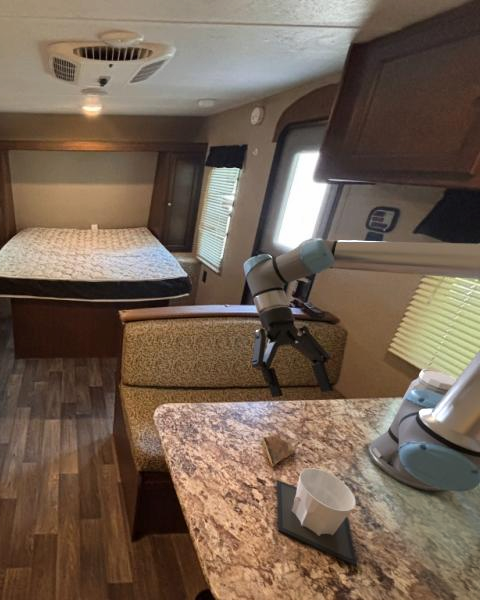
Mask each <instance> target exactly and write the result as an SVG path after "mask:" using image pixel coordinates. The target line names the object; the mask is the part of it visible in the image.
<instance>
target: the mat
mask: <svg viewBox="0 0 480 600" xmlns="http://www.w3.org/2000/svg"><path fill="white" fill-rule="evenodd" d="M276 488H277V489H276V495H277V499H276V501H277V531H278V532H279V533H281V534H283V535H286V536H288V537H290V538H293V539H295V540H297V541H299V542H301V543H303V544H305V545H308V546H309V547H311V548H313V549H316V550H318V551H321V552H322V553H325V554H327V555H328V556H331V557H333V558H336V559H338V560H339V561H341V562H344V563H346V564H349V565H350V566H353V567H355V568H358V561H357V558H356V553H355V548H354V543H353V539H352V535H351V529H350V526H349V522H348V516H347V517H346V518H345V520H344V521H343V522H342V523H341V525H340V526H339V528H338V529H337V530H336V532H335V533H334V534H333V535H331V534H321V535H319V536H318V535H317V534H316V533H315V532H314V531H312V530H310V529H309V528H307V527H305V526H301V522H300V520H299V519H298V517H297V516H296V514H294V513H293V512H292V508H293V505H294V499H295V496H296V491H297V486H293V485H290V484H288V483H286V482H283V481H281V480H279V479H278V480H277V481H276Z"/></svg>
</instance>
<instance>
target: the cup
mask: <svg viewBox="0 0 480 600" xmlns="http://www.w3.org/2000/svg"><path fill="white" fill-rule="evenodd" d="M296 488H297V491H296V496H295V499H294V505H293V508H292V512H293V513H294V514H296V516H297V517H298V519H299V520H300V522H301V526H305V527H307V528H309V529H310V530H312V531H314V532H315V533H316V534H317V535H318V536H319V535H321V534H331V535H333V534H334V533H335V532H336V530H337V529H338V528H339V526H340V525H341V523H342V522H343V521H344V520H345V518H346V517H347V518H348V516H349V515H350V513H352V511H353V510H354V508H355V507H356V505H357V504H356V503H357V502H356V501H357V500H356V498H355V494H354V493H353V492H352V490H351V488H349V486H348V485H346V483H344V481H342V480H341V479H340V478H338V477H337V476H335V475H334V474H333V473H330V472H328V471H326V470H323V469H320V468H316V467H306V468H303V469H302V470H300V474H299V477H298V481H297V486H296Z"/></svg>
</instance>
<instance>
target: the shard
mask: <svg viewBox="0 0 480 600" xmlns="http://www.w3.org/2000/svg"><path fill="white" fill-rule="evenodd" d="M261 438H262V441H263V443H264V446H265V449H266V453H267V458H268V460H269V463H270V465H271V467H275V466H276V465H277V464H278V463H279V462H280V461H282V460H284V459H286V458H287V457H289V456H291V455H292V454H294V453H295V452H296V449H295V448H294V447H293V446H292V445H291V444H290V443H289V442H287V441H286V440H285V439H283V437H280V436H279V435H278V434H276V433H272V434H270V435H268V436H262V437H261Z"/></svg>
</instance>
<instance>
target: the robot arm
mask: <svg viewBox="0 0 480 600" xmlns="http://www.w3.org/2000/svg"><path fill="white" fill-rule="evenodd" d="M328 269H334V270H335V269H337V270H349V271H362V272H364V271H365V272H377V273H388V274H389V273H391V274H402V275H403V274H405V275H416V276H430V277H444V278H458V279H469V280H470V279H472V280H477V281H479V282H480V243H462V242H461V243H458V242H419V241H418V242H417V241H383V240H381V241H376V240H336V239H335V240H333V239H323V238H321V237H313V238H311V237H310V238H308V239H305V240H303V241H302V242H301V243H299V245H297V246H296V247H295V248H293V249H292V250H289V251H287V252H284V253H283V254H281V255H278V256H275V257H273V256H271V255H270V254H267V253H262V254H261V253H260V254H258V255H255V256H252V257H250V258H248V259H246V261H245V262H244V263H243V271H244V275H245V280H246V282H247V286H248V288H249V290H250V293H251V296H252V300H253V302H254V306H255V308H256V312H257V313H258V314H259V315H258V319H259V321H260V324H261V328H258V329H257V330H254V331H253V334H254V346H253V352H252V359H251V367H252V368H255V369H257V370H258V371H261V374H262V376H263V380H264V382H265V383H266V384H267V386H268V388H269V392H270V394H271V395H270V396H271V397H272V398H277V397H283V396H284V394H283V391H282V389H281V384H280V382H279V379H278V376H277V372H276V370H275V367H271V365H272V364H273V361H274V358H275V356H276V353H277V350H278V349H279V347H282V346H283V347H288V346H290V347H292V348H294V349H296V350H297V351H298V352H299V353H300V354H302V356H304V357H305V358H306V359H308V360H309V361H310V362H311V363H312V364H313V365H311V369H312V371H313V374H314V376H315V379H316V381H317V384H318V388H319V390H320V392H321V393H326V392H334V389H333V386H332V383H331V381H330V378H329V377H330V374H329V371H328V369H327V365H326V363H329V361H331V359H332V358H331V356H330V354H329V353H328V352H327V351H326V350H325V349H324V347H323V346H322V345H321V344H320V342H318V341H317V339H316V338H315V337H314V336H313V334H312V333H311V332H310V330H309V328H308V326H307V325H302V326H299V327H296V325H295V321H296V318H295V316H294V313H293V310H292V308H290V302H289V299H288V297H287V294H286V292H285V291H286V290H285V289H284V285H287V284H290V283H292V282H295V281H297V280H298V281H299V280H301V279H304V278H307V277H309V276H312V275H315V274H320V273H321V272H323V271H325V270H328ZM267 339H268V341H267ZM266 343H267V344H266ZM456 379H457V380H456V381H455V383H454V384H453V385H452V386H451V388H450V389H449V390H448V392H447V393H446V394H445V395H441V394H438V393H435V392H431V391H426V390H418V389H417V390H411V391H410V392H409V393H408V394H407V396H406V397H404V396H403V397H404V401H403V403H402V405H401V407H400V409H399V410H398V412H396V414H395V416H394V418H393V420H392V422H391V424H390V426H389V428H388V429H387V430H386V431H384V432H383V433H382V434H380V435H379V436H378V437H376V438H375V439H373V440H372V441H371V442H370V443H369V446H368V448H367V453H368V455H369V457H370V459H371V461H373V463H374V464H375V465H376V466H377V467H378V468H379V469H380V470H381V471H382V472H384V473H385V474H387V475H388V476H390V477H391V478H393V479H395V480H397V481H398V482H401V483H402V484H404V485H406V486H409V487H412V488H415V489H417V490H421V491H425V492H439V491H453V492H467V491H471V490H473V489H476V488H477V487H478V486H479V485H480V349H479V350H478V352H477V353H476V354H475V355H474V357H473V358H472V359H471V360H470V362H469V363H468V364H467V366H466V367H465V368H464V370H463V371H462V372H461V374H460V375H459V376H458V377H457V378H456Z"/></svg>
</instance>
